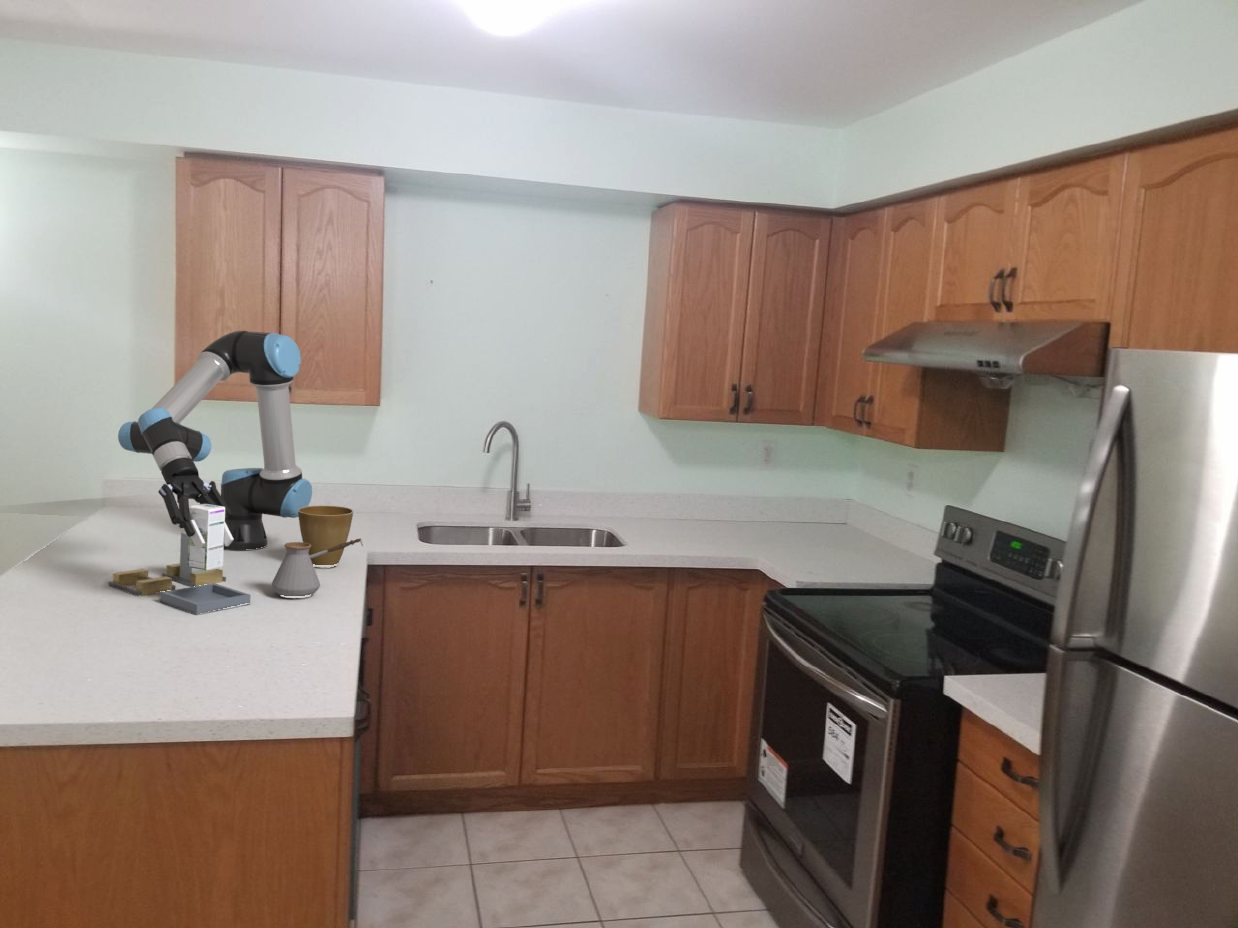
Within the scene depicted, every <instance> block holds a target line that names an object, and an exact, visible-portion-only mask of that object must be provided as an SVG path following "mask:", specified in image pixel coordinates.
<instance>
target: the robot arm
mask: <svg viewBox="0 0 1238 928" xmlns="http://www.w3.org/2000/svg"><path fill="white" fill-rule="evenodd" d="M301 358H302V357H301V352H300V348H299V346H298V345H297V342H295V340H293V339H292V338H291V337H290V336H288V335H286V334H285V335H284V334H280V333H277V332H264V331H263V332H262V331H261V332H259V331H247V330H237V331H232V332H229V333H227V334H225V335H223V336H221V337H219V338H217V339H216V340H214V341H212V342H211V343H209V344H208V345H207V347H205V348H204V349H203V350H202V351H201V352H200V353H199V354H198V355H197V357H196V361H197V362H196V363H195V364H194V365H192V366H191V368H190V369H189V370H188V371H187V372H186V373H184V374H183V376H181V378H180V379H179V380H178V381H177V382H176V383H175V384H174V385H173V386H172V387H171V388H170V389H169V390H168V391H167V392H166V393H165V394H164V395H163V396H162V397H161V398H160V399H159V400H158V401H157V402H156V403H155V404H154V405H153V407H152V408H151V409H148V410H146V411H145V412H143V413H142V414H140V416H139V417H138V419H137V421H128V422H124V423H123V424H122V425H121V426H120V428H119V430H118V433H117V439H118V443H119V445H120V447H121V448H122V449H124V450H126V451H130V452H132V453H133V452H134V453H137V454H140V453H141V454H150V455H152V457H153V458H154V461H155V463H156V465H157V467H158V469H159V471H160V473H161V475H162V477H163V480H164V482H165V483H164V484H162V486H161V487H160V488H159V490H158V491H157V492H158V494H159V495H160V497H162V499H163V501H164V505H165V506H166V510H167V512H168V516H169V518H170V521H171V523H172V525H176V526H177V525H178V528H180V529H183V530H184V531H185V532H186V534H187V535H188V536H189V537H191V539H192V541H193V543H194V545H195V547H196V549H197V550H200V549H201V548H202V547H203V545H204V544H205V541H204V539H203V537H202V535H201V533H200V531H199V529H198V527H197V525H196V523H195V521H194V520H191V521H190V512H189V509H190V503H189V500H194V502H196V503H198V504H210V505H216V506H223V507H225V525H224V549H223V550H226V549H229V550H228V551H247V550H246V549H255V550H257V549H256V548H261V547H264V546H266V545H267V546H268V537H267V532H266V530H265V526H264V522H263V515H267V516H268V515H269V516H274V517H280V518H285V519H286V518H293V519H295V518H299V516H298V509H300V508H302V507H308V506H309V505H310V503H311V500H312V496H313V487H312V484H311V482H310V481H309V480H308V479H306V478H303V473H302V472H303V470H302V469H301V467H299V466H298V465H297V464H296V455H295V443H294V434H293V433H294V431H293V423H292V421H293V420H292V412H291V411H292V410H291V401H290V398H291V397H290V389H289V386H290V385H291V384H292V382H293V381H294V377H295V376H296V375H297V374H298V372H299V371H300V366H301V364H302V363H301V362H302V361H301V360H302V359H301ZM236 373H245V374H248V376H249V383H250V384H251V385H252V386H253V387H255V390H256V398H257V407H258V416H259V426H260V427H259V428H260V434H261V435H260V439H261V445H262V446H261V447H262V455H263V464H264V465H263V466H264V468H263V467H262V468H261V467H246V468H235V469H227V470H225V471H224V472H223V473H222V476H221V483H220V486H221V487H220V492H219V490H218V488H217V484H216V482H215V481H214V480H211V481H210V482H205V481H204V480H202V478H200V476H199V475H200V474H199V470H198V468H197V466H196V463H195V462H197V463H198V462H202V461H204V460H206V458H208V456H209V455H210V453H211V451H212V442H211V439H210V437H209V436H208V435H206V434H205V433H204V432H201V431H199V430H196V429H193V428H191V427H188V426H185V425H183V424H181V423H182V422H183V421H184V419H185V418H186V417H187V416H188V415H189V414H191V412H192V411H193V410H194V409H195V407H197V406H198V404H199V403H201V401H202V400H203V399H205V397H206V396H207V395H208V393H210V392H211V391H212V390H213V389H214V387H215V386H216V385H217V384H218V383H219V382H221V381H225V380H227V379H228V378H229V377H230V376H231V375H233V374H236ZM175 495H176V498H175ZM177 503H178V504H177ZM267 546H266V547H267ZM264 548H265V547H264ZM261 549H262V548H261Z"/></svg>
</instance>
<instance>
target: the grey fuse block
mask: <svg viewBox="0 0 1238 928" xmlns="http://www.w3.org/2000/svg"><path fill="white" fill-rule="evenodd" d="M188 538H189V536H188V535H187V534H186V532H184V531H183V532H180V549H179V551H180V556H179V563H180V578H183V579H187V580H190V573H192V572H198V571H205V570H202V569H196V568H191V567H188Z"/></svg>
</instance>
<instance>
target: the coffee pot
mask: <svg viewBox="0 0 1238 928" xmlns="http://www.w3.org/2000/svg"><path fill="white" fill-rule="evenodd" d="M359 542H360V544H361V546H362V547H364V543H363V541H362V538H361V537H360V538H356V539H354V540H352V539H351V540H350V541H347V542H346V543H342V544H339V545H337V546H334V547H332V548H329V549H327V550H325V551H321V552H318V553H315V554H312V555H309V554H308V552H309V549H310V547H311V544H309V543H303V541H302V542H299V541H295V542H286V543H284V544H283V545H284V547H285V550H286V553H285V555H284V558H283V560H282V562H281V563H280V566H279V567H278V569H277V572H276V573H275V576H274V577H273V580H272V582H271V587H272V590H273V591H274V592H275V593H276V594H278V595H279V594H280V595H284V596H305V595H310V594H312V595H314V594H316V592H317V591H318V590H319V589H320V587H321V583H320V580H319V578H318V575H317V572H316V570H315V569H316V568H314V567H313V564H312V561H311V559H312V558H315V557H317V556H320V555H323V554H325V553H329V552H332V551H335V550H339V549H342V548H344V549H345V548H347V547H349V546H353V545H354V544H355V543H359ZM313 593H314V594H313Z"/></svg>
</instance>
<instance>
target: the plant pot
mask: <svg viewBox="0 0 1238 928" xmlns="http://www.w3.org/2000/svg"><path fill="white" fill-rule="evenodd" d="M353 514H354V510H353V509H352V508H350V507H349V508H348V507H345V506H338V505H310V506H309V505H308V507H302V508H300V509H298V516H299V517H298V523H299V528H300V529H299V530H300V536H301V540H302V542H303V543H309V544H311V547H310V549H309V552H308V554H309V555H312V554H315V553H318V552H321V551H325V550H327V549H329V548H332V547H334V546H337V545H339V544H342V543H346V542H348V538H349V534H350V531H351V526H352V522H353V521H352V520H353V516H354V515H353ZM344 551H345V548H342V549H339V550H335V551H332V552H329V553H325V554H323V555H320V556H317V557H315V558H312V559H311V561H312V564H315V565H334V564H337V563H338V564H339V563H340V560H341V558H342V555H343V553H344Z"/></svg>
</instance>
